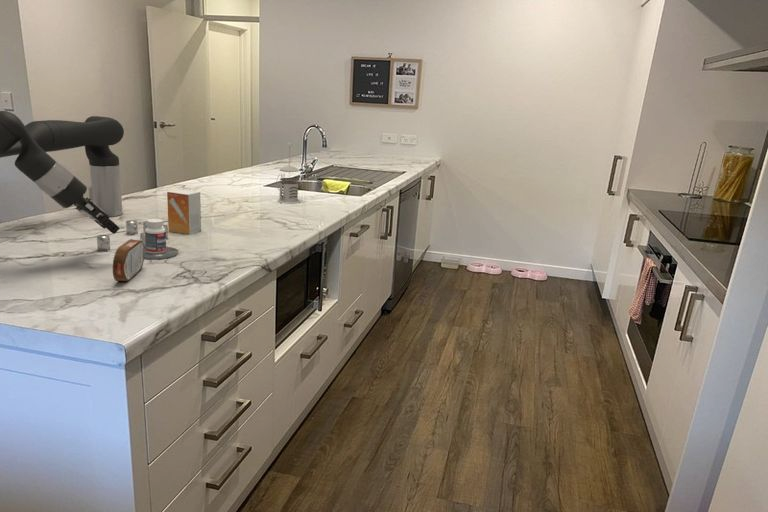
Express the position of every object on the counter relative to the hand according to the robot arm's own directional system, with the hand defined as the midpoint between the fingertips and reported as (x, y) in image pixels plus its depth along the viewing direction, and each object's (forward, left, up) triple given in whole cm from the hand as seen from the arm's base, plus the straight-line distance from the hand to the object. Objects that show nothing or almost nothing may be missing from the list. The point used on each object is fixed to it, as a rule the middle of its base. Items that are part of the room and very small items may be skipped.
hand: (112, 228), depth 146 cm
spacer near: (-6, +6, -8) cm, 12 cm away
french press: (+22, +94, -8) cm, 97 cm away
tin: (+12, -12, -8) cm, 19 cm away
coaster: (+9, +7, -8) cm, 13 cm away
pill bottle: (+8, +7, -8) cm, 13 cm away
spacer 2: (+3, +12, -8) cm, 15 cm away
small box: (+5, +33, -8) cm, 34 cm away
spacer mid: (-3, +24, -8) cm, 26 cm away
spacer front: (+2, +22, -8) cm, 24 cm away
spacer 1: (-9, +24, -8) cm, 27 cm away
